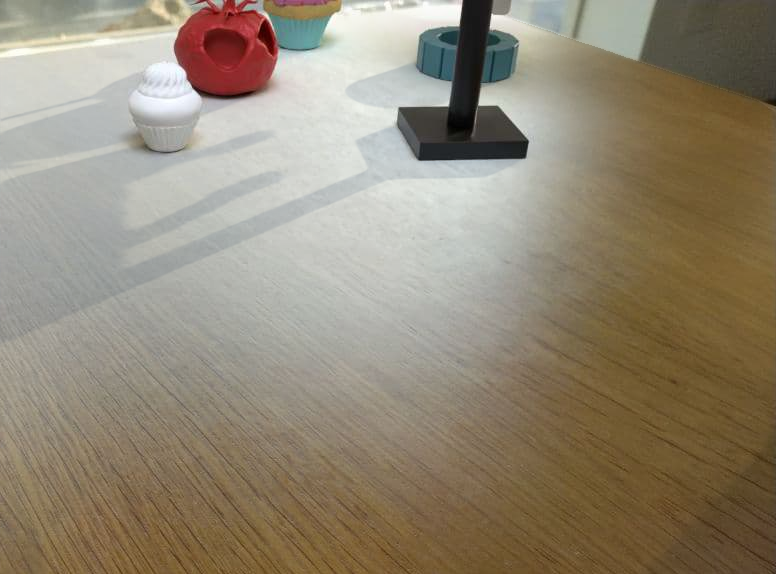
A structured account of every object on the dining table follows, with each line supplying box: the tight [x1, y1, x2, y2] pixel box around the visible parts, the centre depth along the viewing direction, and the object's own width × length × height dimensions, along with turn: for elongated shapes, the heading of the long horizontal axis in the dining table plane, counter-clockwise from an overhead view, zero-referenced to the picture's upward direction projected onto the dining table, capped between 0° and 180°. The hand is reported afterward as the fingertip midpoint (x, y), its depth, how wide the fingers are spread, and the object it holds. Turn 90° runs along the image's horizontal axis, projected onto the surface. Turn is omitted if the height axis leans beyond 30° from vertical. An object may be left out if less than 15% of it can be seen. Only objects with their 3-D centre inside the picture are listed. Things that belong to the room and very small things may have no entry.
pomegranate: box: [173, 0, 279, 96], centre depth 93 cm, size 10×10×9 cm
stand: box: [396, 0, 530, 161], centre depth 80 cm, size 9×9×14 cm
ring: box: [415, 25, 520, 83], centre depth 101 cm, size 10×10×3 cm
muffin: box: [127, 60, 203, 153], centre depth 81 cm, size 6×6×7 cm
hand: (483, 1), depth 94 cm, fingers open, 8 cm apart
